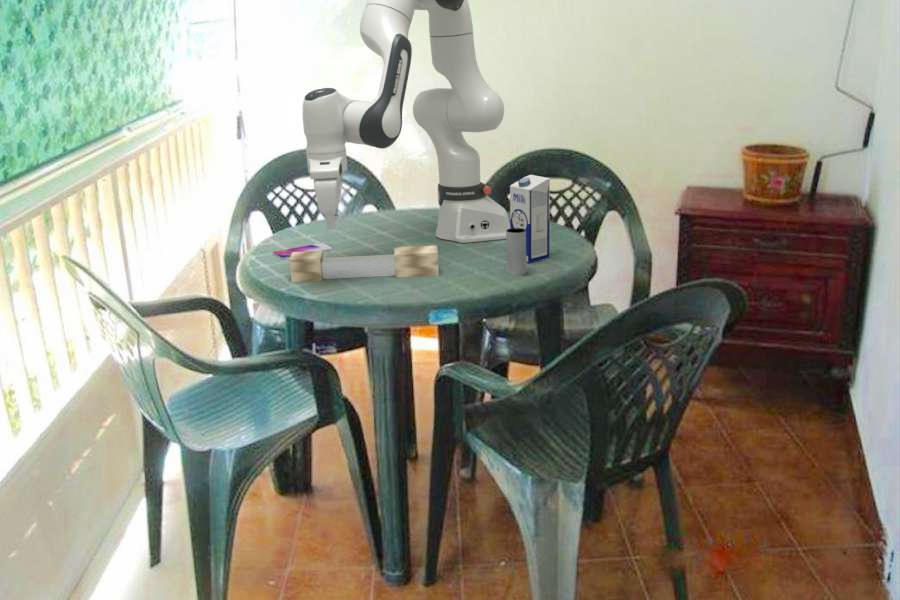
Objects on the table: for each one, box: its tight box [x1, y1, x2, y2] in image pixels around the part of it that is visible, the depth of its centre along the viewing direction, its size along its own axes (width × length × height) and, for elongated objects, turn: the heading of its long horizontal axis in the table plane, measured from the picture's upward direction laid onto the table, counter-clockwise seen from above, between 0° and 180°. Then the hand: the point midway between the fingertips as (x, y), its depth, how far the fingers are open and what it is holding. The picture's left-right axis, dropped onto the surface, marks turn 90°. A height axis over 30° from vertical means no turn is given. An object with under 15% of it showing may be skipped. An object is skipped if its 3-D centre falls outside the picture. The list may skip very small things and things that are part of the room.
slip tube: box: [321, 254, 396, 280], centre depth 197 cm, size 26×4×4 cm, turn 94°
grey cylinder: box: [505, 228, 527, 276], centre depth 194 cm, size 4×4×10 cm
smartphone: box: [272, 242, 336, 260], centre depth 219 cm, size 7×1×15 cm
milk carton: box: [509, 174, 551, 264], centre depth 204 cm, size 7×7×20 cm
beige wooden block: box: [288, 251, 324, 283], centre depth 196 cm, size 7×6×6 cm
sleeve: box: [393, 245, 440, 278], centre depth 197 cm, size 10×6×6 cm, turn 94°
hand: (333, 223), depth 193 cm, fingers open, 8 cm apart
